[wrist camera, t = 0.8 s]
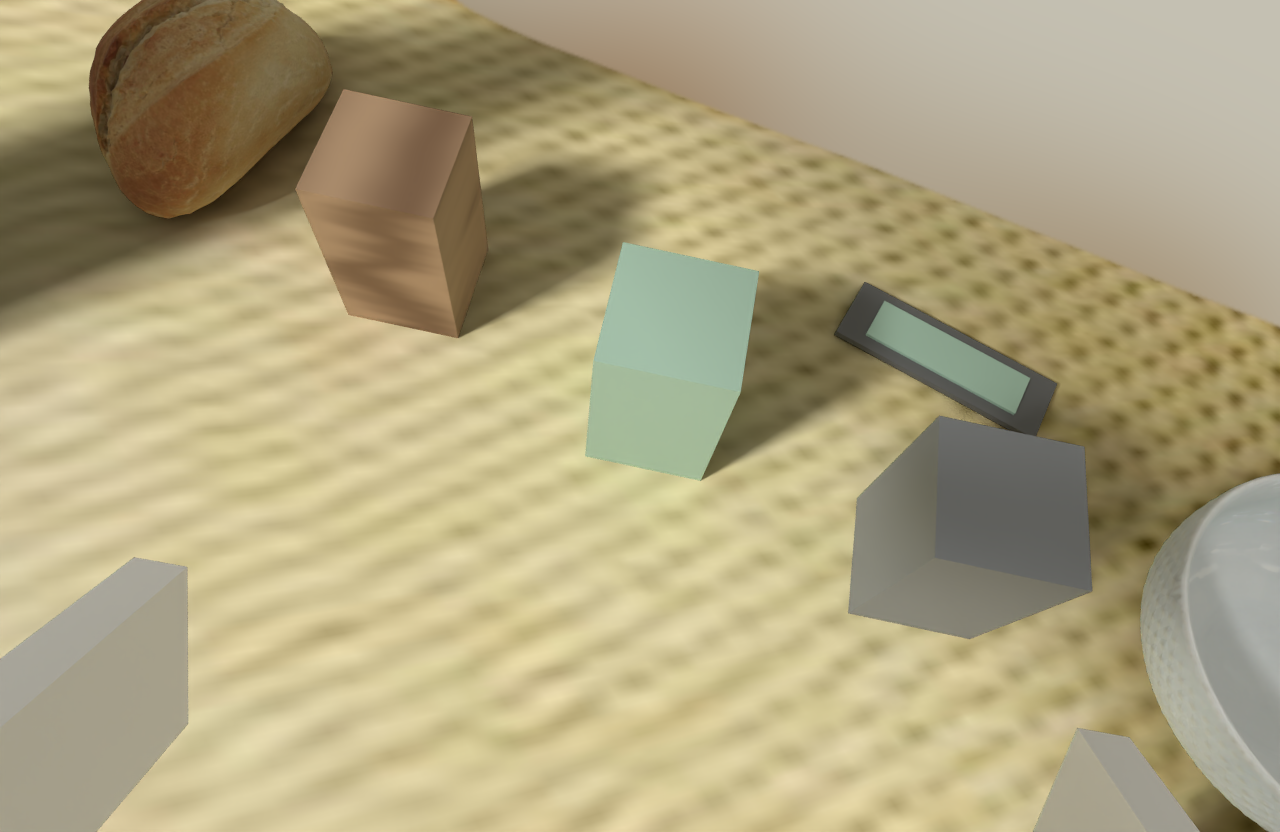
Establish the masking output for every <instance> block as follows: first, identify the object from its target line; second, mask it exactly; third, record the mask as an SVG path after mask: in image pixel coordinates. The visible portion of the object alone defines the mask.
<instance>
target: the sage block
mask: <svg viewBox="0 0 1280 832" xmlns="http://www.w3.org/2000/svg"><path fill="white" fill-rule="evenodd" d="M758 276H759V271H755V270H751V269H746V268H741V267H737V266H732V265H727V264H723V263H718V262H713V261H709V260H704V259H699V258H695V257H690V256H685V255H681V254H676V253H671V252H667V251H662V250H657V249H653V248H648V247H643V246H639V245H634V244H629V243H625V242H623V244H622V248H621V252H620V256H619V260H618V264H617V268H616V272H615V276H614V280H613V284H612V288H611V292H610V297H609V301H608V305H607V309H606V313H605V317H604V321H603V325H602V329H601V333H600V337H599V341H598V345H597V349H596V353H595V357H594V361H593V373H592V384H591V396H590V408H589V419H588V431H587V442H586V454H585V456H587V457H592V458H597V459H601V460H606V461H611V462H615V463H620V464H625V465H629V466H634V467H639V468H643V469H648V470H653V471H657V472H662V473H667V474H671V475H676V476H681V477H686V478H690V479H695V480H700V481H701V479H702V476H703V474H704V472H705V470H706V468H707V465H708V463H709V461H710V459H711V457H712V454H713V452H714V450H715V448H716V446H717V443H718V441H719V439H720V437H721V434H722V432H723V430H724V428H725V426H726V423H727V421H728V419H729V417H730V415H731V412H732V410H733V408H734V406H735V404H736V401H737V399H738V397H739V395H740V392H741V386H742V380H743V373H744V367H745V360H746V354H747V347H748V341H749V334H750V328H751V321H752V315H753V308H754V302H755V295H756V289H757V282H758Z"/></svg>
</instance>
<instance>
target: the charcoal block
mask: <svg viewBox="0 0 1280 832" xmlns="http://www.w3.org/2000/svg"><path fill="white" fill-rule="evenodd" d="M1089 592H1092V577H1091V559H1090V540H1089V522H1088V503H1087V485H1086V467H1085V448H1084V447H1083V446H1079V445H1074V444H1069V443H1065V442H1060V441H1055V440H1051V439H1046V438H1041V437H1037V436H1032V435H1027V434H1023V433H1018V432H1013V431H1009V430H1004V429H999V428H995V427H990V426H985V425H980V424H976V423H971V422H966V421H962V420H957V419H952V418H948V417H943V416H939V417H938V418H937V419H936V420H935V421H934V422H933V423H932V424H931V425H930V426H929V427H928V428H927V429H926V430H925V431H924V432H923V433H922V434H921V435H920V436H919V437H918V438H917V439H916V440H915V441H914V442H913V443H912V444H911V445H910V446H909V447H908V448H907V449H906V450H905V451H904V452H903V453H902V454H901V455H900V456H899V457H898V458H897V459H896V460H895V461H894V462H893V463H892V464H891V465H890V466H889V467H888V468H887V469H886V470H885V471H884V472H883V473H882V474H881V475H880V476H879V477H878V478H877V479H876V480H875V481H874V482H873V483H872V484H871V485H870V486H869V487H868V488H867V489H866V490H865V491H864V492H863V493H862V494H861V495H860V496H859V497H858V498H857V506H856V519H855V532H854V545H853V558H852V571H851V584H850V597H849V610H848V613H850V614H855V615H859V616H864V617H869V618H873V619H878V620H883V621H887V622H892V623H897V624H901V625H906V626H911V627H916V628H920V629H925V630H930V631H934V632H939V633H944V634H948V635H953V636H958V637H962V638H967V639H971V638H974V637H976V636H979V635H981V634H984V633H987V632H989V631H992V630H994V629H997V628H999V627H1002V626H1005V625H1007V624H1010V623H1012V622H1015V621H1017V620H1020V619H1023V618H1025V617H1028V616H1030V615H1033V614H1035V613H1038V612H1041V611H1043V610H1046V609H1048V608H1051V607H1053V606H1056V605H1059V604H1061V603H1064V602H1066V601H1069V600H1071V599H1074V598H1077V597H1079V596H1082V595H1084V594H1087V593H1089Z"/></svg>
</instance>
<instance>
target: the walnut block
mask: <svg viewBox="0 0 1280 832" xmlns="http://www.w3.org/2000/svg"><path fill="white" fill-rule="evenodd" d="M295 190H296V192H297V195H298V197H299V199H300V202H301V204H302V206H303V209H304V211H305V213H306V216H307V218H308V220H309V223H310V225H311V228H312V230H313V232H314V235H315V237H316V239H317V242H318V244H319V246H320V249H321V251H322V253H323V256H324V258H325V260H326V263H327V265H328V268H329V270H330V272H331V275H332V277H333V279H334V282H335V284H336V286H337V289H338V291H339V293H340V296H341V298H342V300H343V303H344V305H345V307H346V310H347V312H348V315H352V316H357V317H362V318H367V319H371V320H376V321H381V322H385V323H390V324H395V325H399V326H404V327H409V328H413V329H418V330H423V331H427V332H432V333H437V334H441V335H446V336H451V337H455V338H458V337H459V334H460V331H461V328H462V325H463V322H464V319H465V316H466V313H467V311H468V308H469V305H470V302H471V299H472V296H473V293H474V290H475V287H476V284H477V281H478V278H479V275H480V272H481V269H482V266H483V263H484V260H485V257H486V254H487V251H488V244H487V236H486V228H485V219H484V211H483V203H482V195H481V186H480V178H479V170H478V162H477V154H476V145H475V137H474V129H473V121H472V117H471V116H467V115H462V114H457V113H453V112H448V111H443V110H439V109H434V108H429V107H425V106H420V105H415V104H411V103H406V102H401V101H397V100H392V99H387V98H383V97H378V96H373V95H369V94H364V93H359V92H355V91H350V90H346V89H343V91H342V93H341V95H340V98H339V100H338V102H337V104H336V106H335V108H334V110H333V112H332V114H331V116H330V118H329V120H328V122H327V124H326V126H325V128H324V130H323V133H322V135H321V137H320V139H319V141H318V143H317V145H316V147H315V149H314V151H313V153H312V155H311V157H310V159H309V161H308V163H307V165H306V167H305V170H304V172H303V174H302V176H301V178H300V180H299V182H298V184H297V186H296V188H295Z"/></svg>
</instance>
